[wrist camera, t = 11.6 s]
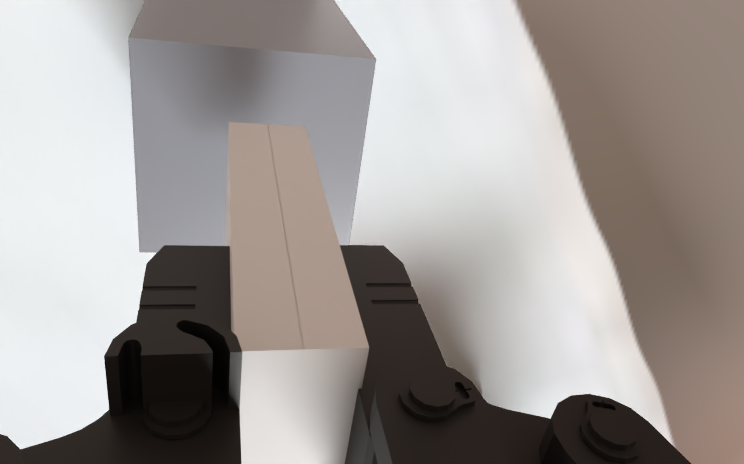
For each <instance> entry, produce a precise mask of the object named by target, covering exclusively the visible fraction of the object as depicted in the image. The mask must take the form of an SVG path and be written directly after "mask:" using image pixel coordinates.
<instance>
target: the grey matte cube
mask: <svg viewBox="0 0 744 464" xmlns="http://www.w3.org/2000/svg"><path fill="white" fill-rule="evenodd" d="M129 58H130V77H131V96H132V116H133V135H134V154H135V174H136V193H137V212H138V232H139V251H140V252H158V251H159V250H160V249H161V248H162V247H163V246H164V245H189V246H225V235H226V199H227V163H228V128H229V122H238V123H255V124H272V125H289V126H305V127H306V131H307V134H308V137H309V141H310V144H311V148H312V151H313V155H314V158H315V162H316V165H317V169H318V172H319V176H320V179H321V182H322V186H323V189H324V193H325V196H326V200H327V203H328V207H329V210H330V214H331V217H332V220H333V224H334V227H335V231H336V234H337V238H338V241H339V245H349V241H350V234H351V227H352V220H353V213H354V207H355V200H356V193H357V186H358V179H359V172H360V166H361V159H362V152H363V145H364V138H365V131H366V125H367V118H368V111H369V104H370V97H371V90H372V83H373V77H374V70H375V63H376V58H375V57H374V56H373V54H372V53H371V51H370V50H369V49H368V47H367V46H366V44H365V43H364V42H363V40H362V39H361V37H360V36H359V35H358V33H357V32H356V30H355V29H354V28H353V26H352V25H351V24H350V22H349V21H348V19H347V18H346V17H345V15H344V14H343V12H342V11H341V10H340V8H339V7H338V5H337V4H336V3H335V1H334V0H145V2H144V4H143V6H142V9H141V11H140V13H139V15H138V17H137V20H136V22H135V24H134V26H133V29H132V31H131V33H130V35H129Z"/></svg>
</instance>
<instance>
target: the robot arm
mask: <svg viewBox="0 0 744 464" xmlns="http://www.w3.org/2000/svg"><path fill="white" fill-rule="evenodd" d="M104 359H105V369H106V379H107V390H108V400H109V410H108V411H107V412H106V413H105V414H104V415H103V416H102V417H100V418H99V419H98V420H96V421H95V422H93V423H91V424H90V425H88V426H86V427H85V428H83V429H81V430H79V431H76V432H74V433H71V434H69V435H66V436H63V437H61V438H58V439H54V440H51V441H48V442H44V443H41V444H38V445H34V446H31V447H28V448H24V449H21V450H20V449H19V448H18V447H17V446H16V445H15V444H14V443H13V442H12V441H11V440H10V439H9V438H8V437H7V436H4V435H1V434H0V464H691V463H690V462H689V461H688V460H687V459H686V458H685V457H684V456H682V454H681V453H680V452H679V451H678V450H677V449H676V448H675V447H674V446H673V445H671V444H670V443H669V442H668V441H667V440H666V439H665V438H664V437H663V436H662V435H661V434H660V433H659V432H658V431H657V430H656V429H655V428H654V427H653V426H652V425H651V424H650V423H649V422H648V421H647V420H645V419H644V418H643V417H641V416H640V415H639V414H638V413H636V412H635V411H634V410H632V409H631V408H629V407H627V406H625V405H623V404H621V403H619V402H616V401H614V400H612V399H610V398H605V397H601V396H596V395H591V394H585V395H573V396H570V397H568V398H566V399H565V400H563V401H561V402H559V403H558V405H557V407H556V409H555V411H554V413H553V415H552V417H551V419H549V418H544V417H540V416H535V415H530V414H526V413H521V412H516V411H511V410H507V409H504V408H500V407H497V406H494V405H491V404H489V403H487V402H485V401H484V399H483V397H482V395H481V394H480V393H479V391H478V390H477V389H476V387H475V386H474V384H473V383H472V382H471V381H470V380H469V379H467V378H466V377H465V376H463V375H462V374H460V373H459V372H458V371H456V370H455V369H452V368H449V367H447V366H446V364H445V362H444V359H443V357H442V355H441V352H440V350H439V348H438V345H437V343H436V340H435V338H434V336H433V333H432V331H431V329H430V326H429V324H428V322H427V319H426V317H425V315H424V312H423V310H422V307H421V305H420V304H418V298H417V296H416V293H415V291H414V289H413V287H411V282H410V279H409V277H408V274H407V272H406V270H405V267H404V265H403V263H402V262H401V261H400V260H399V259H398V258H397V257H395V256H394V255H393V254H392V253H391V252H390V251H389V250H388V249H387V248H386V247H384V246H370V245H339V241H338V238H337V234H336V231H335V227H334V224H333V220H332V217H331V214H330V210H329V207H328V203H327V200H326V196H325V193H324V189H323V186H322V182H321V179H320V176H319V172H318V169H317V165H316V162H315V158H314V155H313V151H312V148H311V144H310V141H309V137H308V134H307V131H306V127H305V126H289V125H272V124H255V123H238V122H229V128H228V163H227V199H226V235H225V246H189V245H164V246H163V247H162V248H161V249H160V250H159V251H158V252H157V253H156V254H155V256H154V257H153V258H152V259H151V260H150V261H149V262H148V263H147V265H146V271H145V276H144V282H143V291H142V294H141V299H140V308H139V311H138V316H137V322H136V323H135V324H132V325H130V326H129V327H128V328H127V329H125V330H124V331H123V332H122V333H120V334H119V335H118V336H117V337H115V338H114V339H113V341H112V343H111V345H110V346H109V348H108V350H107V352H106V354H105V356H104Z"/></svg>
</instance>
